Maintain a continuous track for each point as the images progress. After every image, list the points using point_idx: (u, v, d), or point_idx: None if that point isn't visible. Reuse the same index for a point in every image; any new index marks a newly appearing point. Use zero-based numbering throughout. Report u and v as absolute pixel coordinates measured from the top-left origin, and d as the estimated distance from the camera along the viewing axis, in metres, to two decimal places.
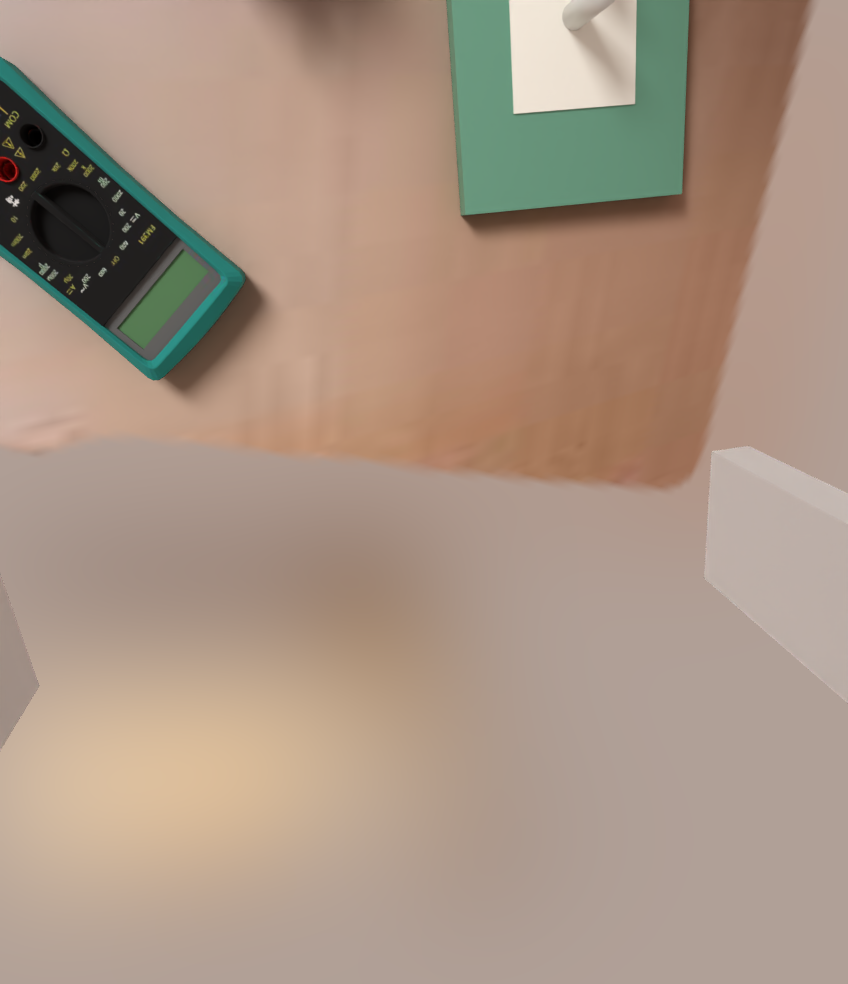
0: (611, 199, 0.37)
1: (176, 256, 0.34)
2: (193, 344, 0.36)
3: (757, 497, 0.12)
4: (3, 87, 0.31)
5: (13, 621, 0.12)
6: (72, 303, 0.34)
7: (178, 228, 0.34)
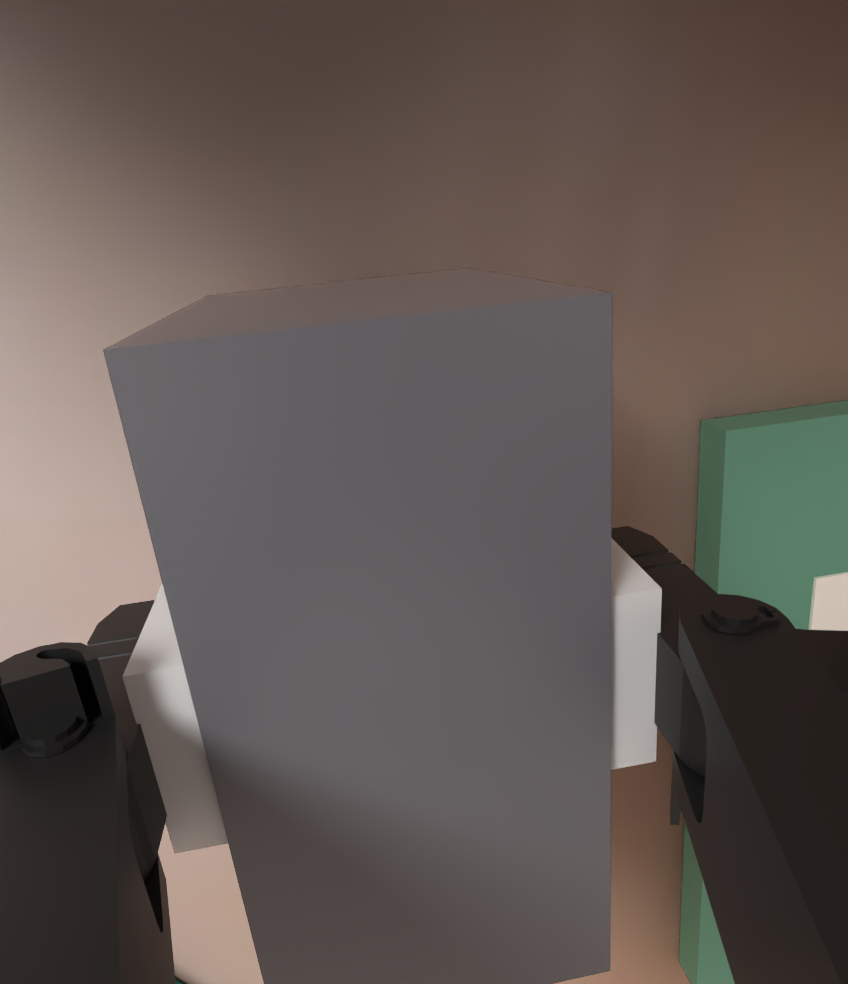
0: None
1: None
2: None
3: None
4: None
5: None
6: None
7: None
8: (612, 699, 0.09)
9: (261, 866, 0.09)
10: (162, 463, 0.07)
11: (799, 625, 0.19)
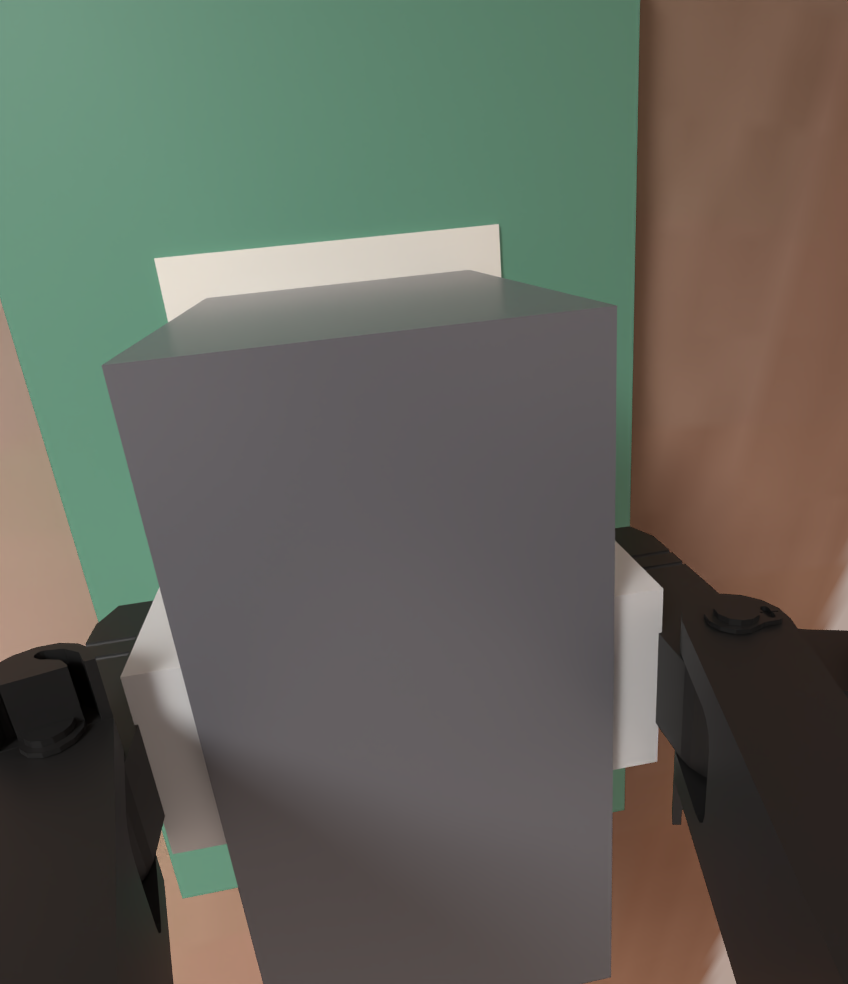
0: None
1: None
2: None
3: None
4: None
5: None
6: None
7: None
8: None
9: (262, 877, 0.09)
10: (162, 479, 0.07)
11: None
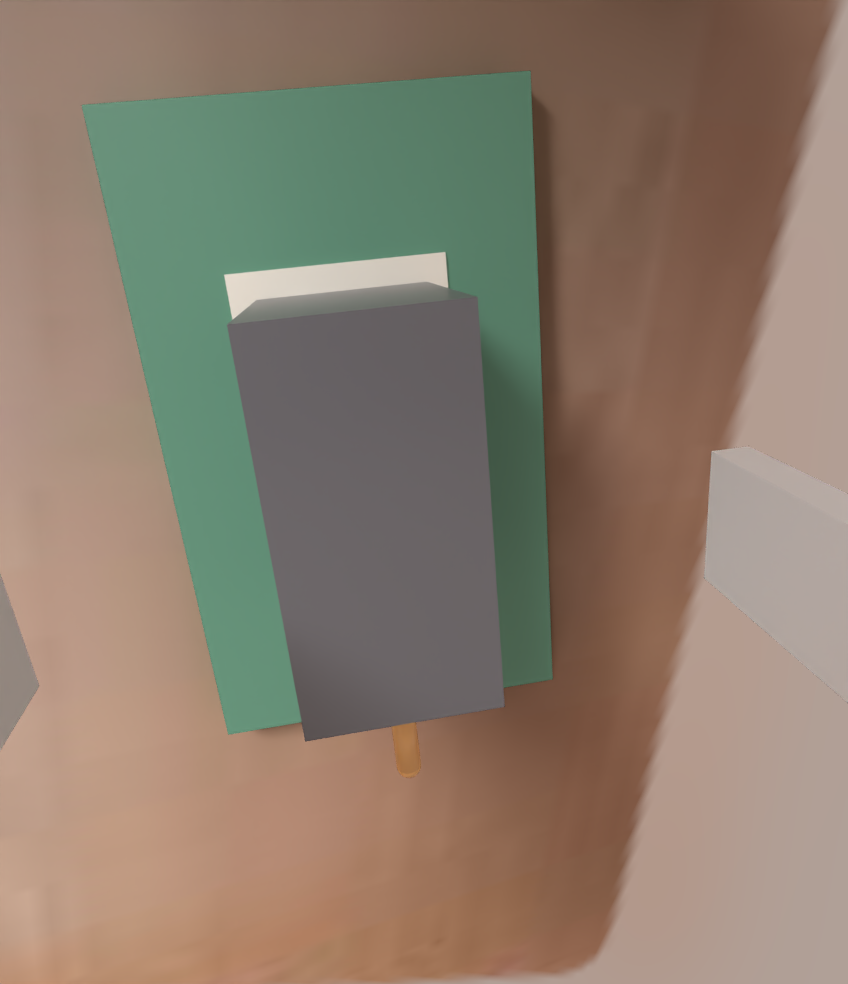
0: None
1: None
2: None
3: (757, 497, 0.12)
4: None
5: (13, 621, 0.12)
6: None
7: None
8: None
9: (297, 618, 0.16)
10: (252, 382, 0.14)
11: (224, 327, 0.20)
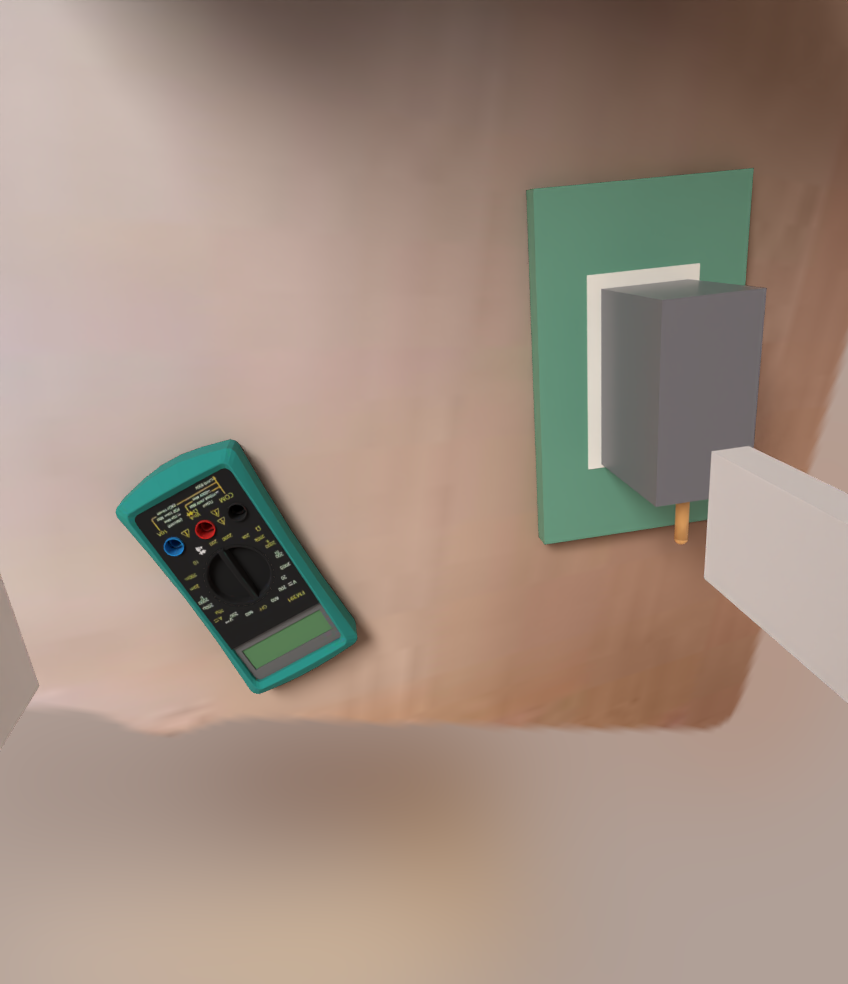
0: (668, 524, 0.43)
1: (311, 612, 0.41)
2: (298, 676, 0.42)
3: (757, 497, 0.12)
4: (229, 475, 0.37)
5: (13, 620, 0.12)
6: (214, 629, 0.40)
7: (323, 598, 0.40)
8: None
9: (664, 441, 0.33)
10: (667, 325, 0.31)
11: (581, 304, 0.38)
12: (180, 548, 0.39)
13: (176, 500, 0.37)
